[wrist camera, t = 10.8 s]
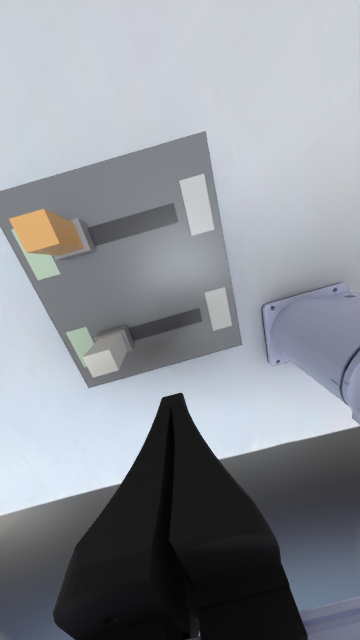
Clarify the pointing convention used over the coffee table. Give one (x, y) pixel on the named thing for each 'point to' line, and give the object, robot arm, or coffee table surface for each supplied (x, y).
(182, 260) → the slider lever panel
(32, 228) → the orange lever
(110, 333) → the white lever
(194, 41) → the coffee table surface
